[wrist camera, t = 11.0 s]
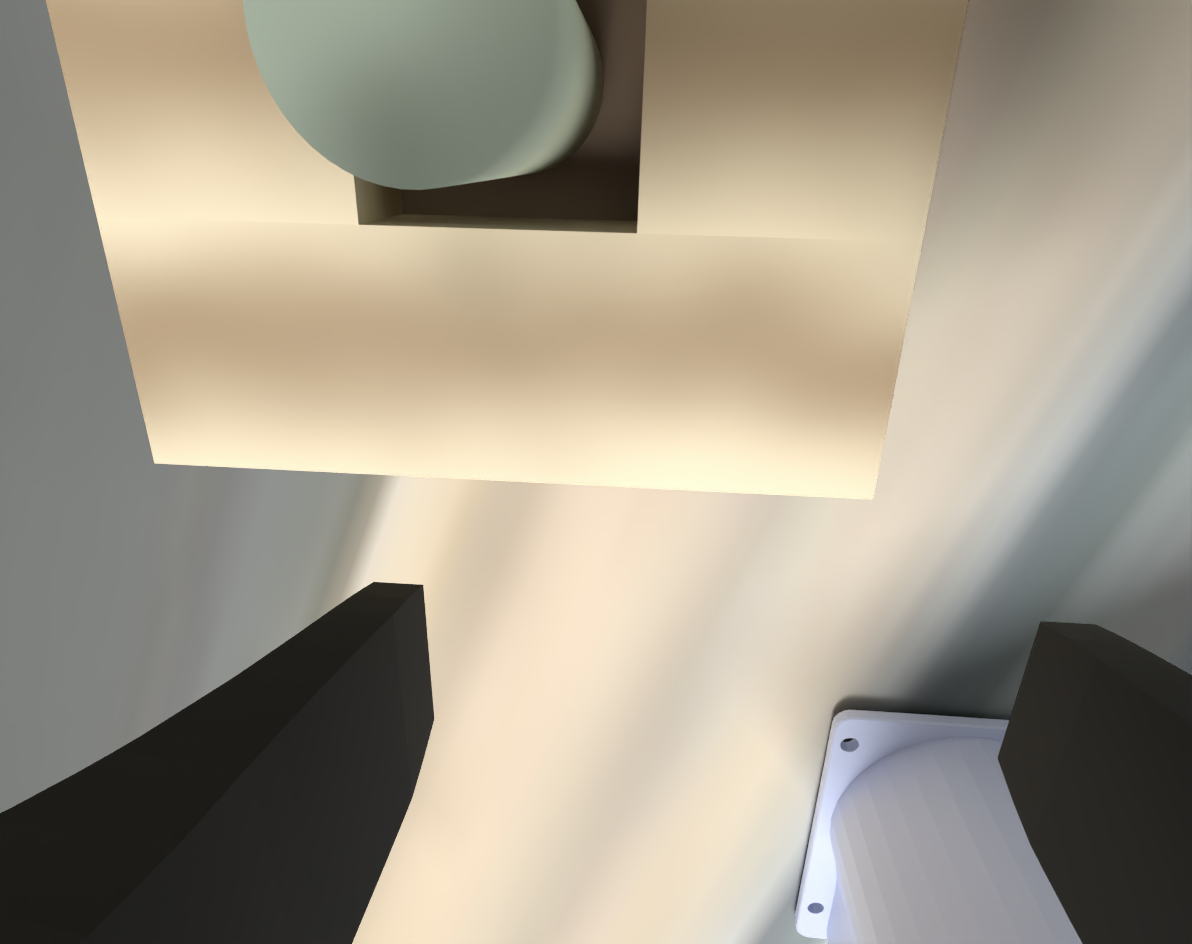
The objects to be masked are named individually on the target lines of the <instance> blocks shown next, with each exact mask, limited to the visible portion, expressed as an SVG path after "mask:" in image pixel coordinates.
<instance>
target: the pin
mask: <svg viewBox="0 0 1192 944" xmlns="http://www.w3.org/2000/svg"><path fill="white" fill-rule="evenodd" d="M243 8H244V15H245V22H246V28H247V32H248V36H249V40H250V44H251V48H252V52H253V55H254V57H255V60H256V63H257V66H258V68H259V71H260V74H261V76H262V78H263V80H264V82H265V84H266V86H267V88H268V90H269V92H270V94H271V96H272V97H273V99H274V101H275V102H276V104H277V105H278V107H279V109H280V110H281V112H282V113H283V115H284V116H285V117H286V119H287V120H288V121H289V122H290V124H291V125H292V126H293V128H294V129H295V130H296V131H297V132H298V133H299V134H300V135H301V136H302V138H303V139H304V140H305V141H306V142H307V143H308V144H309V145H310V146H311V147H312V148H314V149H315V150H316V151H317V152H319V153H320V154H321V155H322V156H324V157H325V158H326V159H327V160H329V161H330V162H332V163H333V164H335V165H336V166H338V167H340V168H341V169H343V170H344V171H346V172H348V173H350V174H352V175H355V176H357V177H359V178H361V179H363V180H366V181H369V182H372V183H375V184H378V185H382V186H386V187H392V188H397V189H408V190H425V189H433V188H442V187H448V186H455V185H461V184H468V183H474V182H481V181H487V180H494V179H500V178H506V177H513V176H519V175H526V174H532V173H538V172H542V171H545V170H548V169H550V168H553V167H555V166H557V165H559V164H560V163H562V162H564V161H565V160H567V159H568V158H569V157H570V156H572V155H573V154H574V153H575V152H576V151H577V150H578V149H579V148H580V147H581V146H582V144H583V143H584V141H585V140H586V139H587V137H588V136H589V134H590V132H591V130H592V129H593V127H594V125H595V122H596V120H597V117H598V114H599V111H600V107H601V103H602V96H603V81H604V77H603V66H602V61H601V56H600V52H599V49H598V46H597V43H596V40H595V38H594V36H593V34H592V32H591V30H590V28H589V26H588V24H587V22H586V20H585V18H584V16H583V14H582V12H581V10H580V8H579V6H578V4H577V2H576V0H243Z"/></svg>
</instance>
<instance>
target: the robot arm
mask: <svg viewBox="0 0 1192 944" xmlns="http://www.w3.org/2000/svg"><path fill="white" fill-rule="evenodd" d="M433 721H434V711H433V699H432V687H431V675H430V663H429V651H428V639H427V627H426V615H425V603H424V591H423V585H414V584H397V583H380V582H373V583H371V584H370V585H368V586H367V587H365V588H363V589H362V590H360V591H359V592H357V593H355V594H354V595H352V596H351V597H350V598H348V599H347V600H345V601H344V602H342V603H341V604H339V605H338V606H336V607H335V608H334V609H332V610H331V611H329V612H328V613H326V614H325V615H324V616H322V617H321V618H319V619H318V620H316V621H315V622H314V623H312V624H311V625H309V626H308V627H306V628H305V629H304V630H302V631H301V632H299V633H298V634H296V635H295V636H294V637H292V638H291V639H289V640H288V641H286V642H285V643H283V644H282V645H280V646H279V647H278V648H276V649H275V650H273V651H272V652H270V653H269V654H267V655H266V656H264V657H263V658H262V659H260V660H259V661H257V662H256V663H254V664H253V665H251V666H250V667H248V668H247V669H246V670H244V671H243V672H241V673H240V674H238V675H237V676H235V677H234V678H232V679H231V680H229V681H227V682H226V683H224V684H223V685H221V686H220V687H218V688H216V689H215V690H213V691H212V692H210V693H208V694H207V695H205V696H204V697H202V698H200V699H199V700H197V701H196V702H194V703H193V704H191V705H189V706H188V707H186V708H185V709H183V710H181V711H180V712H178V713H177V714H175V715H174V716H172V717H170V718H169V719H167V720H166V721H164V722H162V723H161V724H159V725H158V726H156V727H154V728H153V729H151V730H150V731H148V732H147V733H145V734H143V735H142V736H140V737H138V738H137V739H135V740H133V741H132V742H130V743H128V744H127V745H125V746H123V747H121V748H120V749H118V750H116V751H115V752H113V753H111V754H109V755H108V756H106V757H104V758H102V759H101V760H99V761H97V762H95V763H93V764H92V765H90V766H88V767H86V768H85V769H83V770H81V771H79V772H77V773H76V774H74V775H72V776H70V777H68V778H66V779H64V780H62V781H61V782H59V783H57V784H55V785H53V786H51V787H49V788H48V789H46V790H44V791H42V792H40V793H38V794H36V795H34V796H33V797H31V798H29V799H27V800H25V801H23V802H21V803H20V804H18V805H16V806H14V807H12V808H10V809H8V810H6V811H4V812H2V813H0V944H352V942H353V940H354V937H355V935H356V932H357V930H358V928H359V925H360V923H361V920H362V918H363V916H364V913H365V911H366V909H367V906H368V904H369V901H370V899H371V897H372V894H373V892H374V889H375V887H376V885H377V882H378V880H379V877H380V875H381V873H382V870H383V868H384V865H385V863H386V861H387V858H388V856H389V853H390V851H391V848H392V846H393V844H394V841H395V839H396V836H397V834H398V831H399V829H400V827H401V824H402V822H403V819H404V817H405V814H406V812H407V809H408V807H409V804H410V802H411V799H412V796H413V793H414V790H415V786H416V783H417V779H418V776H419V772H420V769H421V766H422V762H423V759H424V755H425V751H426V747H427V744H428V740H429V736H430V732H431V729H432V725H433ZM846 738H854V739H853V740H851V741H849V742H843V740H845V739H846ZM795 924H796V930H797V931H798V932H799V933H800V934H801V935H803V936H806V937H811V938H823V939H827V941H828V944H1192V675H1190V674H1188V673H1187V672H1185V671H1183V670H1181V669H1180V668H1178V667H1176V666H1174V665H1172V664H1171V663H1169V662H1167V661H1165V660H1163V659H1162V658H1160V657H1158V656H1156V655H1154V654H1153V653H1151V652H1149V651H1147V650H1145V649H1144V648H1142V647H1140V646H1138V645H1136V644H1134V643H1132V642H1130V641H1128V640H1126V639H1125V638H1123V637H1121V636H1119V635H1117V634H1115V633H1112V632H1110V631H1108V630H1106V629H1104V628H1102V627H1100V626H1097V625H1092V624H1075V623H1058V622H1041V621H1040V624H1039V628H1038V631H1037V634H1036V637H1035V640H1034V643H1033V647H1032V650H1031V653H1030V656H1029V659H1028V662H1027V666H1026V669H1025V672H1024V675H1023V678H1022V681H1021V685H1020V688H1019V691H1018V694H1017V697H1016V700H1015V704H1014V707H1013V710H1012V713H1011V716H1010V720H1000V719H985V718H970V717H955V716H940V715H925V714H910V713H895V712H880V711H865V710H845V711H842V712H840V713H838V714H837V715H836V716H835V717H834V719H833V721H832V726H831V731H830V736H829V741H828V746H827V751H826V757H825V762H824V767H823V772H822V777H821V783H820V788H819V793H818V798H817V803H816V809H815V814H814V819H813V824H812V829H811V834H810V840H809V845H808V850H807V855H806V860H805V866H804V871H803V876H802V881H801V886H800V891H799V897H798V902H797V907H796V912H795Z"/></svg>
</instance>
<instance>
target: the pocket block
mask: <svg viewBox="0 0 1192 944" xmlns="http://www.w3.org/2000/svg"><path fill="white" fill-rule="evenodd" d="M576 2H577V4H578V6H579V8H580V10H581V12H582V14H583V16H584V18H585V20H586V22H587V24H588V26H589V28H590V30H591V32H592V34H593V36H594V38H595V40H596V43H597V46H598V49H599V52H600V56H601V61H602V66H603V77H604V81H603V96H602V103H601V107H600V111H599V114H598V117H597V120H596V122H595V125H594V127H593V129H592V130H591V132H590V134H589V136H588V137H587V139H586V140H585V141H584V143H583V144H582V146H581V147H580V148H579V149H578V150H577V151H576V152H575V153H574V154H573V155H572V156H570V157H569V158H568V159H567V160H565V161H564V162H562V163H560V164H559V165H557V166H555V167H553V168H550V169H548V170H545V171H542V172H538V173H532V174H526V175H519V176H513V177H506V178H500V179H494V180H487V181H481V182H474V183H468V184H461V185H455V186H448V187H442V188H433V189H425V190H408V189H397V188H392V187H386V186H382V185H378V184H375V183H372V182H369V181H366V180H363V179H361V178H359V177H357V176H355V175H352V174H350V173H348V172H346V171H344V170H343V169H341V168H340V167H338V166H336V165H335V164H333V163H332V162H330V161H329V160H327V159H326V158H325V157H324V156H322V155H321V154H320V153H319V152H317V151H316V150H315V149H314V148H312V147H311V146H310V145H309V144H308V143H307V142H306V141H305V140H304V139H303V138H302V136H301V135H300V134H299V133H298V132H297V131H296V130H295V129H294V128H293V126H292V125H291V124H290V122H289V121H288V120H287V119H286V117H285V116H284V115H283V113H282V112H281V110H280V109H279V107H278V105H277V104H276V102H275V101H274V99H273V97H272V96H271V94H270V92H269V90H268V88H267V86H266V84H265V82H264V80H263V78H262V76H261V74H260V71H259V68H258V66H257V63H256V60H255V57H254V55H253V52H252V48H251V44H250V40H249V36H248V32H247V28H246V22H245V15H244V8H243V0H46V3H47V7H48V11H49V16H50V20H51V24H52V28H53V33H54V37H55V41H56V45H57V50H58V54H59V58H60V62H61V67H62V71H63V75H64V79H65V84H66V88H67V92H68V97H69V101H70V105H71V109H72V114H73V118H74V122H75V126H76V131H77V135H78V139H79V143H80V148H81V152H82V156H83V160H84V165H85V169H86V173H87V177H88V182H89V186H90V190H91V194H92V199H93V203H94V207H95V211H96V216H97V220H98V224H99V229H100V233H101V237H102V241H103V246H104V250H105V254H106V258H107V263H108V267H109V271H110V275H111V280H112V284H113V288H114V292H115V297H116V301H117V305H118V309H119V314H120V318H121V322H122V326H123V331H124V335H125V339H126V344H127V348H128V352H129V356H130V361H131V365H132V369H133V373H134V378H135V382H136V386H137V390H138V395H139V399H140V403H141V407H142V412H143V416H144V420H145V424H146V429H147V433H148V437H149V441H150V446H151V450H152V454H153V458H154V463H159V464H178V465H198V466H218V467H238V468H257V469H277V470H297V471H317V472H337V473H356V474H376V475H396V476H416V477H435V478H455V479H475V480H495V481H515V482H534V483H554V484H574V485H594V486H613V487H633V488H653V489H673V490H693V491H712V492H732V493H752V494H772V495H791V496H811V497H831V498H851V499H870V500H873V498H874V493H875V487H876V482H877V477H878V472H879V466H880V461H881V456H882V451H883V446H884V440H885V435H886V430H887V425H888V419H889V414H890V409H891V404H892V399H893V393H894V388H895V383H896V378H897V373H898V367H899V362H900V357H901V352H902V346H903V341H904V336H905V331H906V326H907V320H908V315H909V310H910V305H911V299H912V294H913V289H914V284H915V279H916V273H917V268H918V263H919V258H920V253H921V247H922V242H923V237H924V232H925V226H926V221H927V216H928V211H929V206H930V200H931V195H932V190H933V185H934V180H935V174H936V169H937V164H938V159H939V153H940V148H941V143H942V138H943V133H944V127H945V122H946V117H947V112H948V106H949V101H950V96H951V91H952V86H953V80H954V75H955V70H956V65H957V60H958V54H959V49H960V44H961V39H962V33H963V28H964V23H965V18H966V13H967V7H968V2H969V0H576Z"/></svg>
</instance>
